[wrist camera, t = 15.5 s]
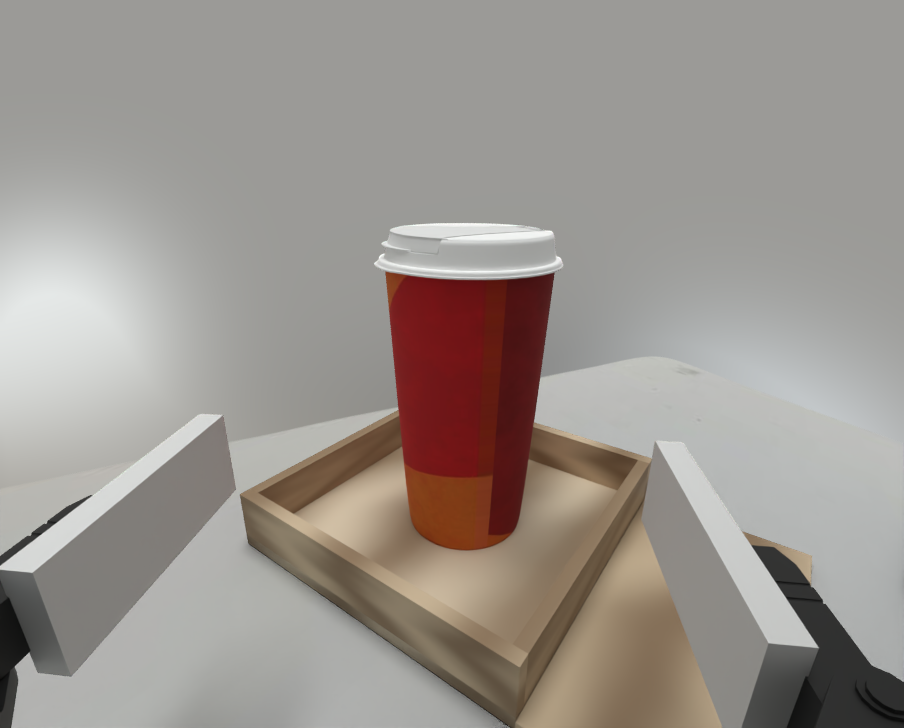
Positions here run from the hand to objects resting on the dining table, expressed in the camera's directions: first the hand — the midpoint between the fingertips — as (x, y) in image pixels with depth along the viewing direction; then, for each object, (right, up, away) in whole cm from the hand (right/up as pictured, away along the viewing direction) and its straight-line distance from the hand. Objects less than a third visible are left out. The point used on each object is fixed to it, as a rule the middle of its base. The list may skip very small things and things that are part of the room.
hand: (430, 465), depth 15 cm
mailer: (+4, -6, +10) cm, 13 cm away
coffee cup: (+1, -5, +12) cm, 13 cm away
